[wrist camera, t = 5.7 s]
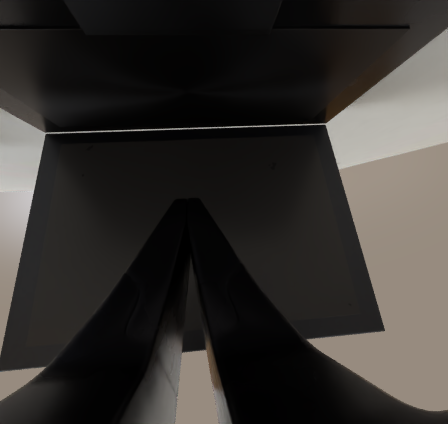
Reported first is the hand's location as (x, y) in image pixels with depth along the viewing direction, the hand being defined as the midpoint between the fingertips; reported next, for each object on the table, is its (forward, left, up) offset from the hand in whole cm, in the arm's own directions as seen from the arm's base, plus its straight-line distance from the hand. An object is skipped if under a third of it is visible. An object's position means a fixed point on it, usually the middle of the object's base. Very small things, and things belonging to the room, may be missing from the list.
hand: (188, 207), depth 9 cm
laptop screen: (+8, -6, 0) cm, 10 cm away
